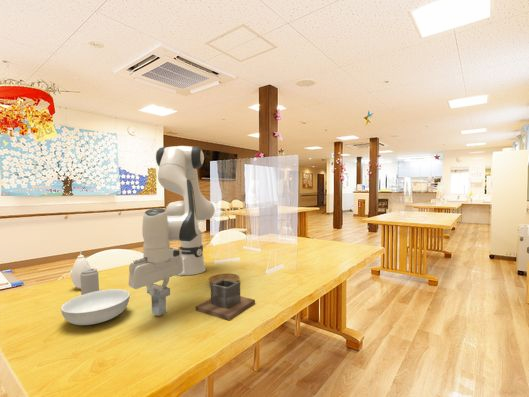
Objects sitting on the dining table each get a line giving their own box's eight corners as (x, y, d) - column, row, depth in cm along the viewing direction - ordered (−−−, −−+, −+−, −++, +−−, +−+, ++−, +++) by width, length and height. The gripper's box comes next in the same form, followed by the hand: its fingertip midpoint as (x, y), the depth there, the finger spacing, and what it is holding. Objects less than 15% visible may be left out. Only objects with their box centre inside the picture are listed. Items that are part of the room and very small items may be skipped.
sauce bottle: (70, 288, 129) (68, 250, 128) (89, 284, 134) (87, 247, 134) (74, 292, 123) (72, 252, 123) (94, 287, 129) (92, 249, 128)
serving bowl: (115, 301, 113) (115, 284, 113) (140, 315, 100) (140, 297, 100) (53, 321, 97) (52, 301, 97) (73, 341, 84) (72, 319, 84)
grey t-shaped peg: (147, 311, 100) (146, 286, 100) (154, 308, 103) (153, 283, 102) (163, 317, 96) (162, 290, 95) (170, 314, 98) (169, 287, 98)
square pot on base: (195, 310, 103) (194, 286, 103) (223, 295, 117) (223, 274, 116) (228, 320, 95) (228, 294, 94) (254, 303, 108) (254, 280, 108)
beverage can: (102, 296, 119) (101, 268, 118) (89, 301, 113) (87, 273, 112) (91, 294, 121) (90, 267, 121) (77, 300, 115) (76, 271, 115)
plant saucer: (202, 287, 128) (202, 281, 128) (218, 277, 142) (218, 272, 142) (231, 290, 123) (230, 285, 123) (244, 280, 137) (244, 274, 136)
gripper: (134, 263, 88) (136, 305, 88) (184, 249, 105) (186, 285, 106) (123, 260, 91) (125, 301, 92) (173, 247, 108) (175, 282, 109)
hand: (158, 292), depth 99 cm, fingers closed on grey t-shaped peg, 3 cm apart
